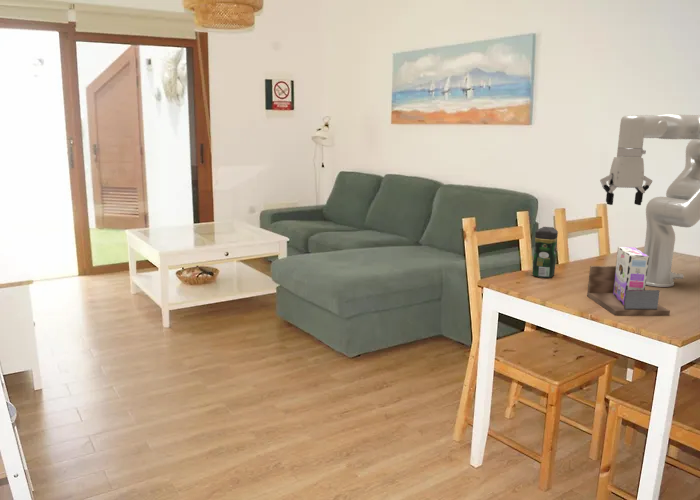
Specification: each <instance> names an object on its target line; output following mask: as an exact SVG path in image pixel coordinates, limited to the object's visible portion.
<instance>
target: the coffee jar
mask: <svg viewBox="0 0 700 500" xmlns="http://www.w3.org/2000/svg"><path fill="white" fill-rule="evenodd" d="M558 234H559V232H558V230H557V229H556V228H555V227H553V226H552V227H551V226H542V227H540V228H537V229H536V230H535V234H534V236H535V237H534V247H533V249H534V250H533V260H532V261H533V262H532V276H533V277H538V278H541V279H546V278H548V279H549V278H552V277H553V276H554V275H555V271H556V259H557V248H558V247H557V245H558Z"/></svg>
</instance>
